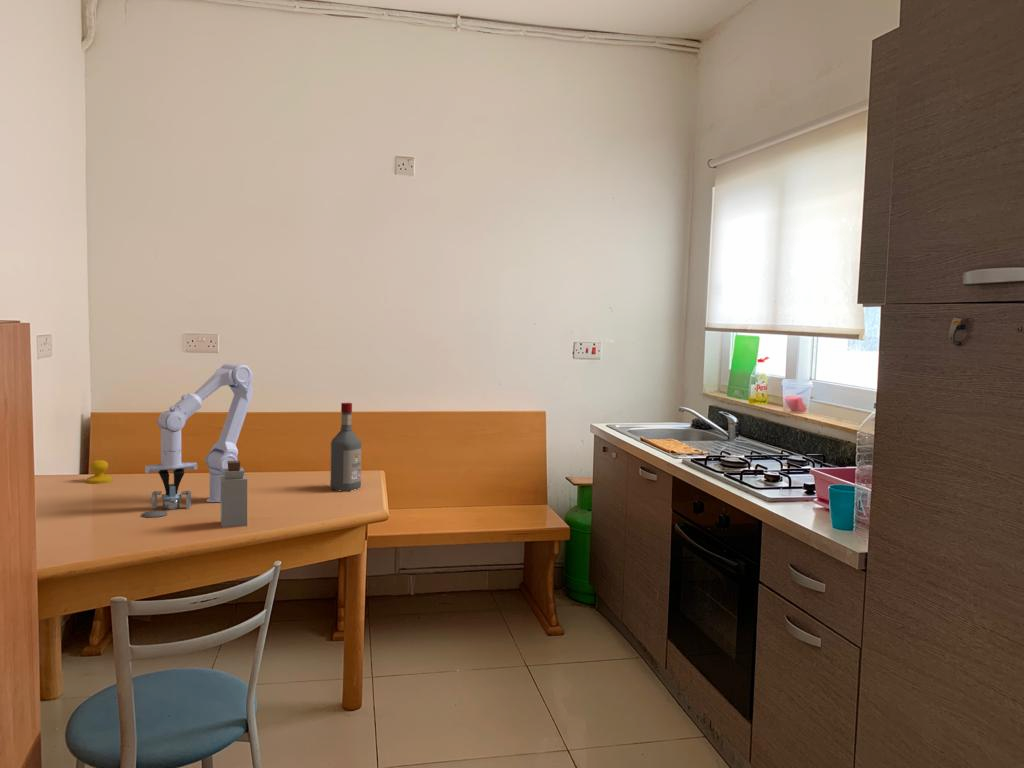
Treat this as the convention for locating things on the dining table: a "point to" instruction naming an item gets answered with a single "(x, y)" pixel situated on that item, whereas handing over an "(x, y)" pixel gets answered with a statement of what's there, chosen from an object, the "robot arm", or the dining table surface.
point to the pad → (154, 514)
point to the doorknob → (99, 472)
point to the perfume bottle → (233, 496)
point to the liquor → (345, 455)
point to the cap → (171, 494)
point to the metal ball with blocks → (171, 504)
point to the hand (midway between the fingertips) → (171, 494)
